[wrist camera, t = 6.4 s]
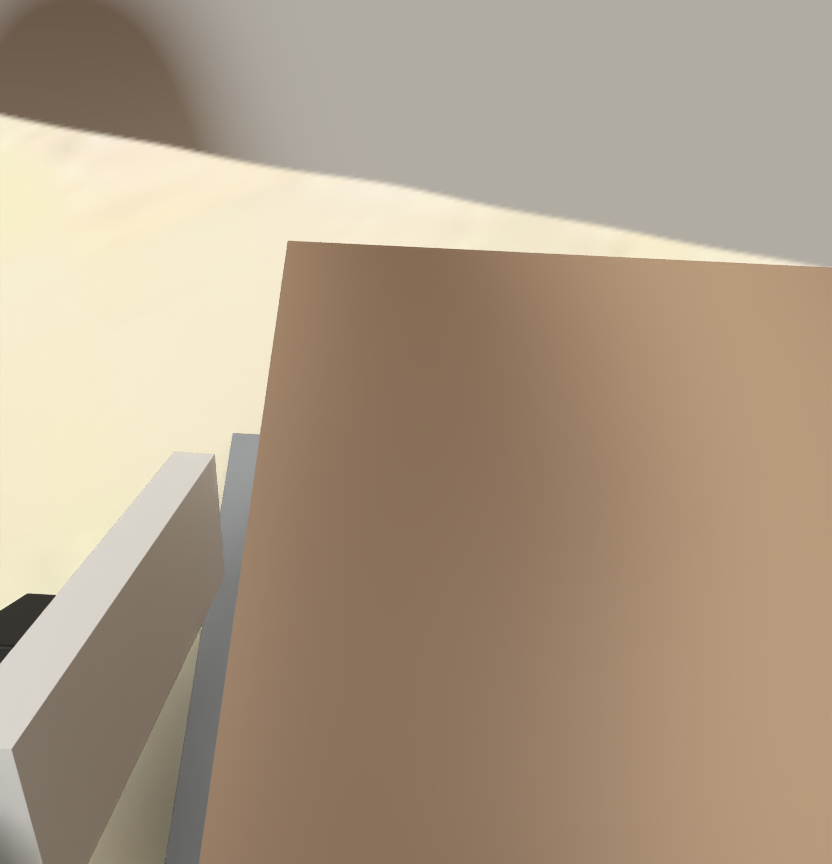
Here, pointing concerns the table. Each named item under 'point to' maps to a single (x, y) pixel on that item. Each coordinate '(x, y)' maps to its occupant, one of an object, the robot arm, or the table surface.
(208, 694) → the gray tile
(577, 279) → the walnut block
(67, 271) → the table surface
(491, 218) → the table surface
